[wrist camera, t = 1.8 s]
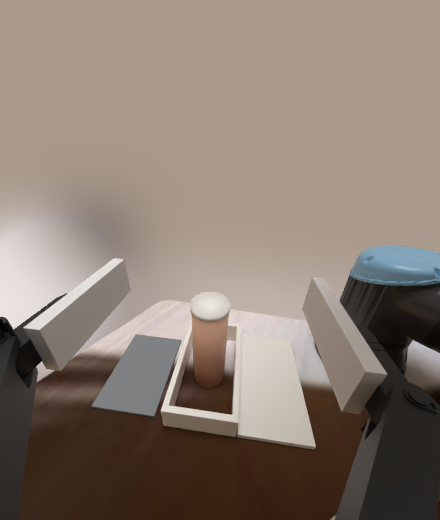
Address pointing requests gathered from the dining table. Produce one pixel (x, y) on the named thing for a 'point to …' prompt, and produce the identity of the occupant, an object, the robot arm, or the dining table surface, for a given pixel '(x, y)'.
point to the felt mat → (139, 377)
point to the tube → (209, 337)
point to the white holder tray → (250, 394)
